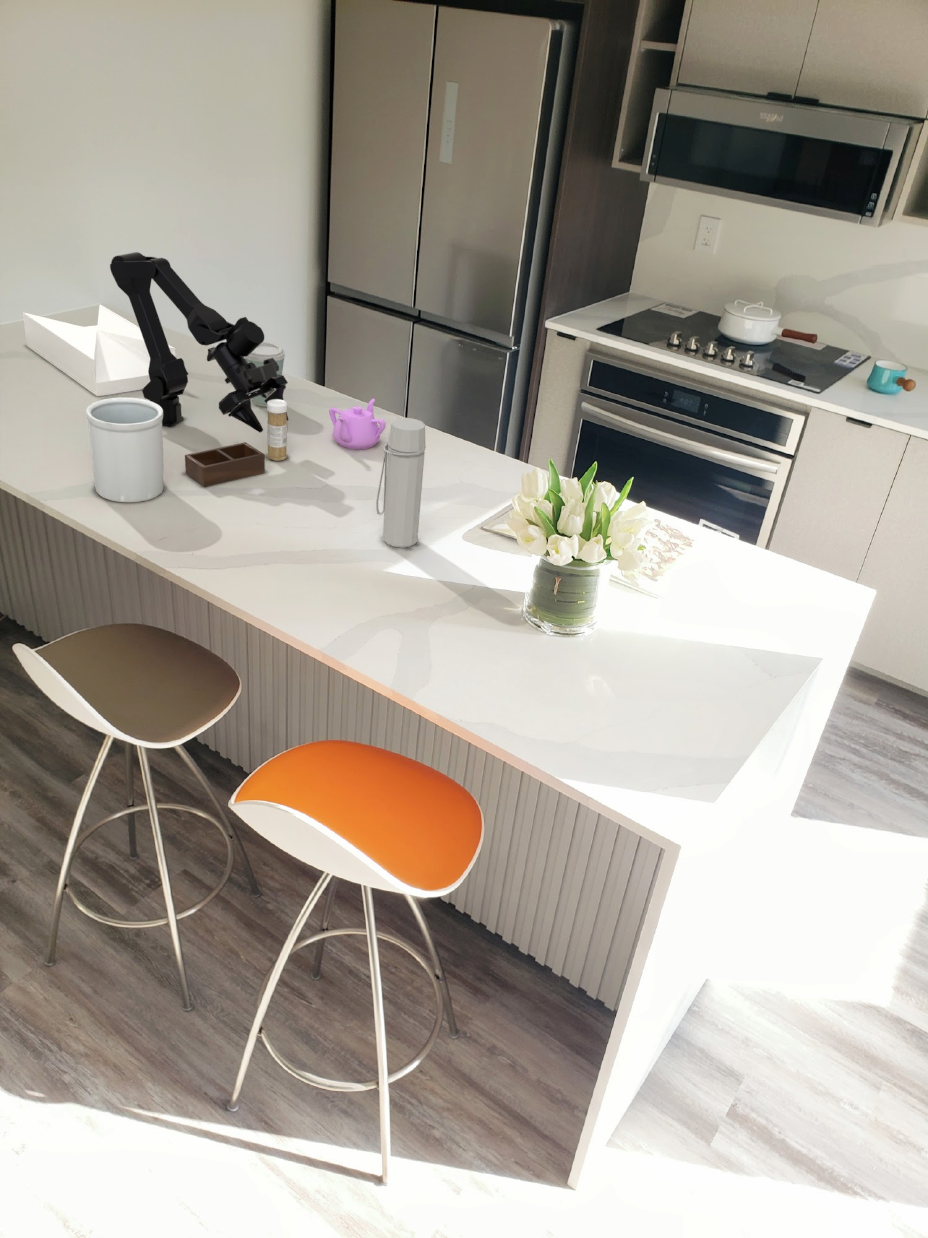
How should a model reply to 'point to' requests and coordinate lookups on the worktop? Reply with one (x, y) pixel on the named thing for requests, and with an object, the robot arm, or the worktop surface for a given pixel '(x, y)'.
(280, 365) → the disposable coffee cup
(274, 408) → the sprinkles bottle
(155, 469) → the utensil holder
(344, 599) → the worktop surface
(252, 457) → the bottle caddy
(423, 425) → the water bottle
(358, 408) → the teapot
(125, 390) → the white shallow tray
